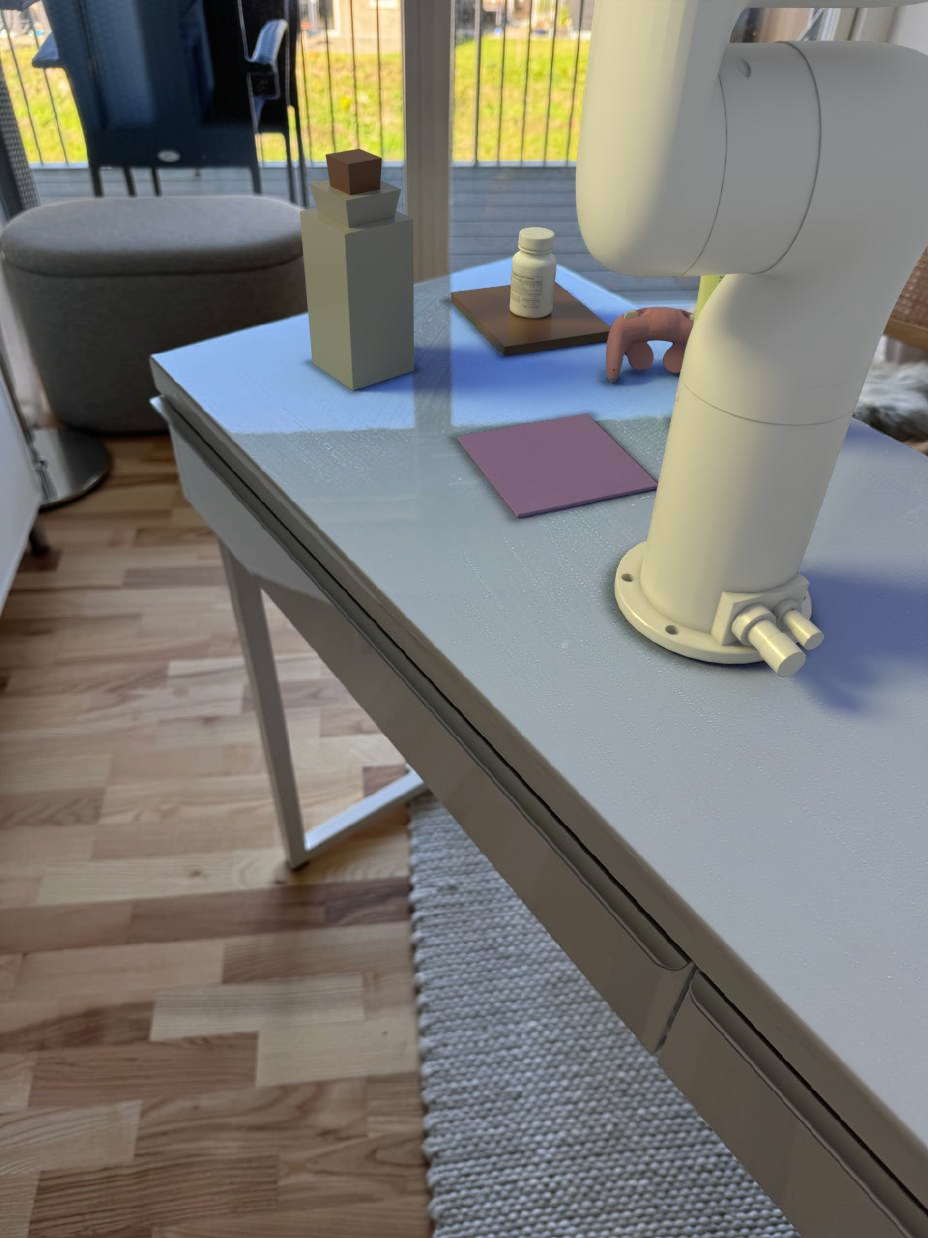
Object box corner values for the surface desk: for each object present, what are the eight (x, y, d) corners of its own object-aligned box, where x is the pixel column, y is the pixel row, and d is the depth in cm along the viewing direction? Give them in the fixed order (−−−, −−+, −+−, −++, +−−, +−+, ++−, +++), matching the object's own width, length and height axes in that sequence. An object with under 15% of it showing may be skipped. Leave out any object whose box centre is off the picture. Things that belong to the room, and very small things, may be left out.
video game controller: (705, 389, 87) (715, 312, 85) (714, 389, 83) (725, 307, 81) (600, 381, 87) (608, 304, 86) (604, 381, 83) (612, 300, 81)
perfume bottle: (353, 390, 81) (341, 172, 70) (312, 362, 85) (294, 152, 73) (414, 370, 85) (412, 159, 73) (372, 344, 89) (364, 140, 77)
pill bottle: (531, 298, 96) (537, 221, 91) (561, 312, 93) (569, 234, 88) (500, 308, 94) (504, 230, 89) (529, 323, 91) (536, 243, 86)
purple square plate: (658, 488, 71) (659, 484, 71) (517, 517, 67) (517, 514, 67) (586, 416, 79) (586, 413, 79) (457, 439, 76) (457, 436, 75)
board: (614, 339, 91) (615, 330, 91) (504, 356, 88) (504, 346, 87) (552, 288, 101) (552, 279, 100) (450, 301, 97) (450, 291, 97)
